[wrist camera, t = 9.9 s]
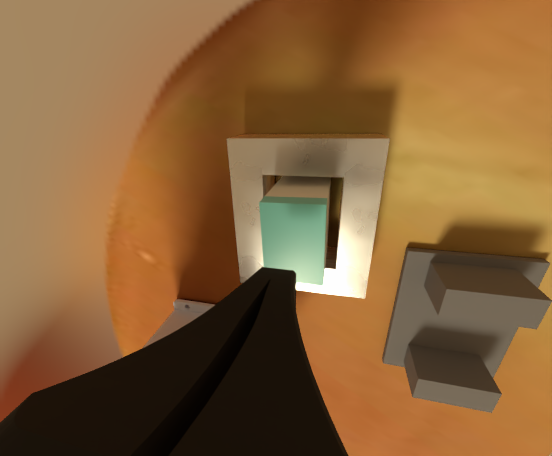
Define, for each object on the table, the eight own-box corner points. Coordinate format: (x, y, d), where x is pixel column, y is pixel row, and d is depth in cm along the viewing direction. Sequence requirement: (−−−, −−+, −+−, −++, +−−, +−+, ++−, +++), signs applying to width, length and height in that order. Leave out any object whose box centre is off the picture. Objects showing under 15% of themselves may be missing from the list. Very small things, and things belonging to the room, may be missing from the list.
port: (253, 261, 21) (240, 282, 18) (244, 134, 17) (226, 138, 14) (361, 272, 19) (364, 298, 17) (381, 133, 15) (389, 138, 13)
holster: (382, 358, 22) (389, 398, 19) (406, 247, 18) (420, 276, 15) (487, 376, 21) (513, 423, 18) (544, 259, 16) (593, 294, 13)
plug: (285, 233, 19) (264, 279, 14) (283, 174, 18) (259, 202, 12) (328, 236, 19) (323, 285, 13) (331, 175, 17) (326, 204, 12)
